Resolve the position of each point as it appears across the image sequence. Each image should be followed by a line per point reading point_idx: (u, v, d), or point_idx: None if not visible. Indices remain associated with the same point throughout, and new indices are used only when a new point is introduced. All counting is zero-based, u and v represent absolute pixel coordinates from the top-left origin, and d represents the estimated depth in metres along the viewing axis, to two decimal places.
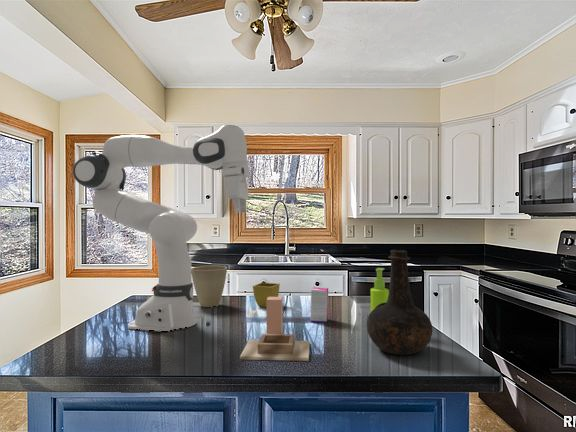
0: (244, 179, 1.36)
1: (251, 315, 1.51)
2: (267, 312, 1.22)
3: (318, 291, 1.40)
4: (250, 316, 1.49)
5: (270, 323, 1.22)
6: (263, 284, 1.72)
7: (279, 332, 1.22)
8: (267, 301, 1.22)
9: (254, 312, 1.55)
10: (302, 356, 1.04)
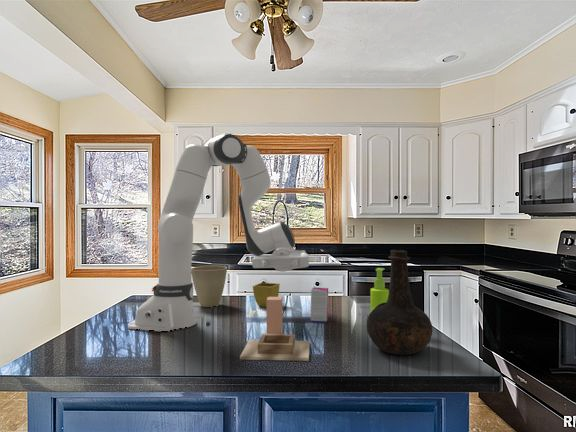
0: (286, 267, 1.47)
1: (251, 315, 1.51)
2: (267, 312, 1.22)
3: (318, 291, 1.40)
4: (250, 316, 1.49)
5: (270, 323, 1.22)
6: (263, 284, 1.72)
7: (279, 332, 1.22)
8: (267, 301, 1.22)
9: (254, 312, 1.55)
10: (302, 356, 1.04)
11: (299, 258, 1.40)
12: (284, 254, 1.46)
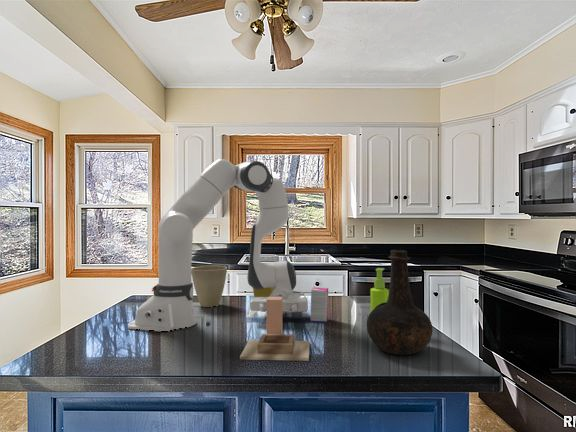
0: None
1: (252, 315, 1.51)
2: (267, 312, 1.22)
3: (318, 291, 1.40)
4: (251, 316, 1.49)
5: (270, 323, 1.22)
6: None
7: (279, 332, 1.22)
8: (267, 301, 1.22)
9: (254, 312, 1.55)
10: (302, 356, 1.04)
11: (298, 303, 1.37)
12: (282, 296, 1.43)
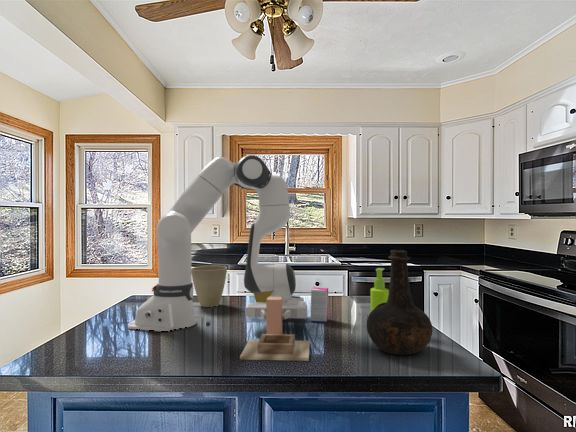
0: None
1: None
2: (267, 312, 1.22)
3: (318, 291, 1.40)
4: None
5: (270, 323, 1.22)
6: None
7: (279, 332, 1.22)
8: (267, 301, 1.22)
9: None
10: (302, 356, 1.04)
11: (297, 309, 1.28)
12: None
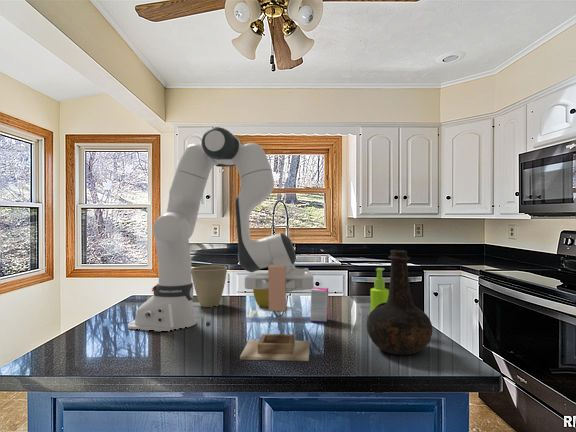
0: None
1: (252, 315, 1.51)
2: (269, 281, 1.10)
3: (318, 291, 1.40)
4: (252, 316, 1.49)
5: (272, 294, 1.10)
6: None
7: (283, 303, 1.10)
8: (269, 269, 1.10)
9: (255, 312, 1.55)
10: (302, 356, 1.04)
11: (302, 279, 1.15)
12: None
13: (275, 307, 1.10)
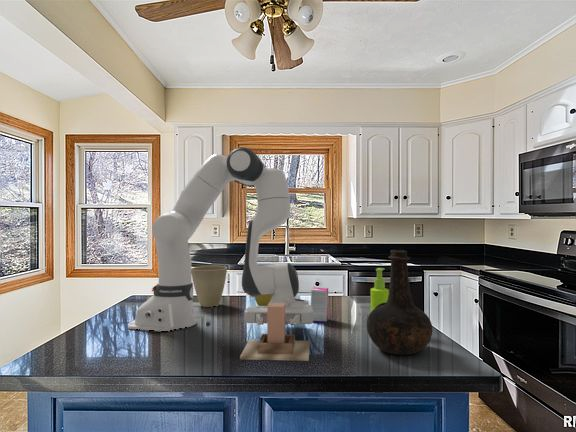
0: None
1: None
2: (268, 321, 1.09)
3: (318, 291, 1.40)
4: None
5: (271, 333, 1.09)
6: None
7: None
8: (268, 308, 1.09)
9: None
10: (302, 356, 1.04)
11: (302, 313, 1.14)
12: None
13: None
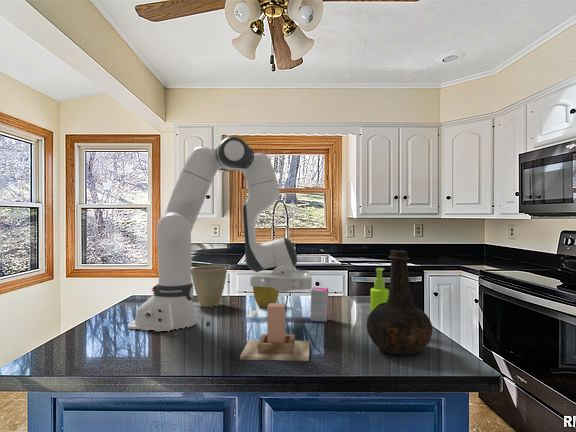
0: None
1: (253, 315, 1.51)
2: (268, 321, 1.09)
3: (318, 291, 1.40)
4: (252, 316, 1.49)
5: (271, 333, 1.09)
6: None
7: None
8: (268, 308, 1.09)
9: (256, 312, 1.56)
10: (302, 356, 1.04)
11: (301, 279, 1.29)
12: (285, 273, 1.36)
13: None
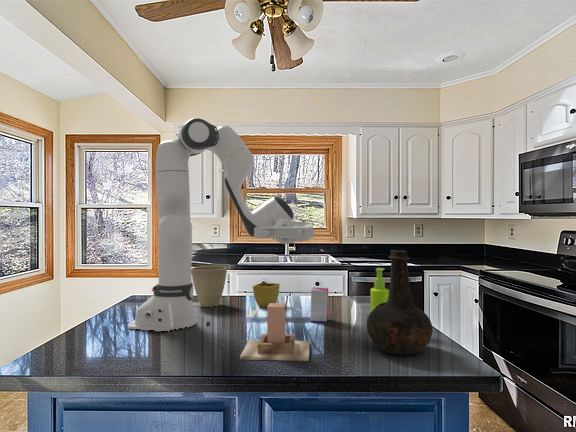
0: (288, 239, 1.40)
1: (254, 315, 1.51)
2: (268, 321, 1.09)
3: (318, 291, 1.40)
4: (253, 316, 1.49)
5: (271, 333, 1.09)
6: (263, 284, 1.72)
7: None
8: (268, 308, 1.09)
9: (256, 312, 1.56)
10: (302, 356, 1.04)
11: (303, 228, 1.33)
12: (287, 225, 1.40)
13: None
